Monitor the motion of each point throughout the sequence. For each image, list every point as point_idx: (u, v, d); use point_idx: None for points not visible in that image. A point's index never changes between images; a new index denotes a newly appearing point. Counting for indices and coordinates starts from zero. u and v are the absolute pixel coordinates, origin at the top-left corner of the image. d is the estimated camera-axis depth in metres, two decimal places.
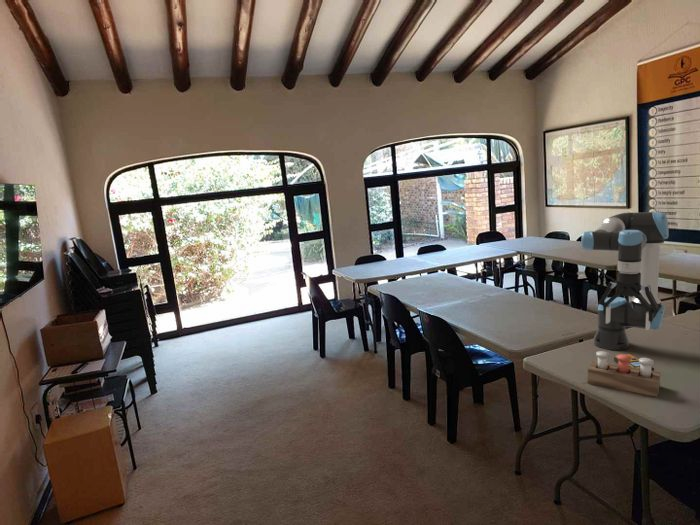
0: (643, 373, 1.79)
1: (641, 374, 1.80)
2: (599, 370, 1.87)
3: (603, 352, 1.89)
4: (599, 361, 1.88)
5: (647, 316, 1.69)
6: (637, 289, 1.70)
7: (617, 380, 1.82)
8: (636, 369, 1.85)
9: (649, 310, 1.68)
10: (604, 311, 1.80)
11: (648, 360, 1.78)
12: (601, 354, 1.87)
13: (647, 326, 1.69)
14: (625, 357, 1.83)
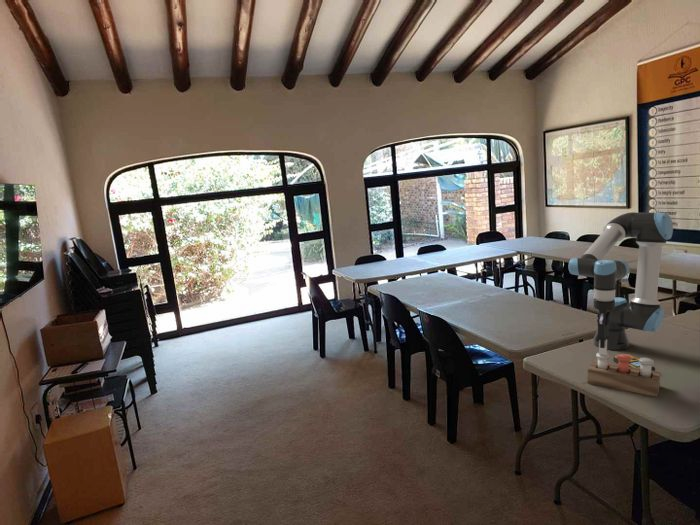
0: (643, 373, 1.79)
1: (641, 374, 1.80)
2: (599, 370, 1.87)
3: None
4: (599, 362, 1.88)
5: (599, 341, 1.88)
6: (599, 315, 1.83)
7: (617, 380, 1.82)
8: (636, 369, 1.85)
9: None
10: None
11: (648, 360, 1.78)
12: (601, 355, 1.87)
13: None
14: (625, 357, 1.83)
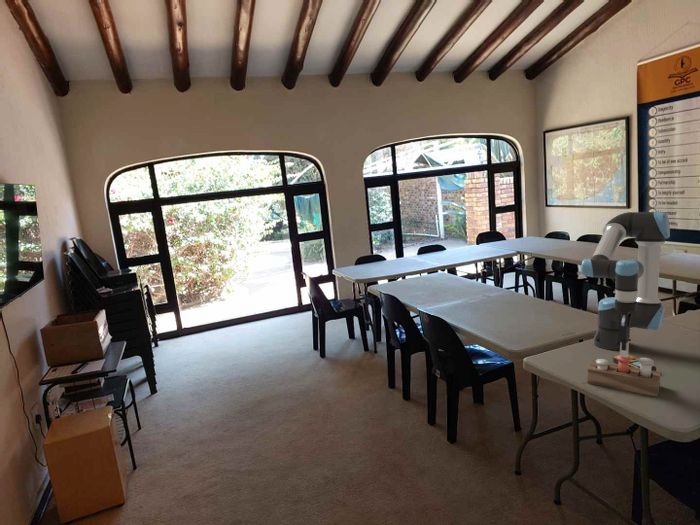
0: (643, 373, 1.79)
1: (641, 374, 1.80)
2: (599, 370, 1.87)
3: (603, 360, 1.90)
4: None
5: (620, 344, 1.83)
6: (621, 317, 1.79)
7: (617, 380, 1.82)
8: (636, 369, 1.85)
9: None
10: None
11: (648, 360, 1.78)
12: (601, 362, 1.88)
13: None
14: (625, 358, 1.83)
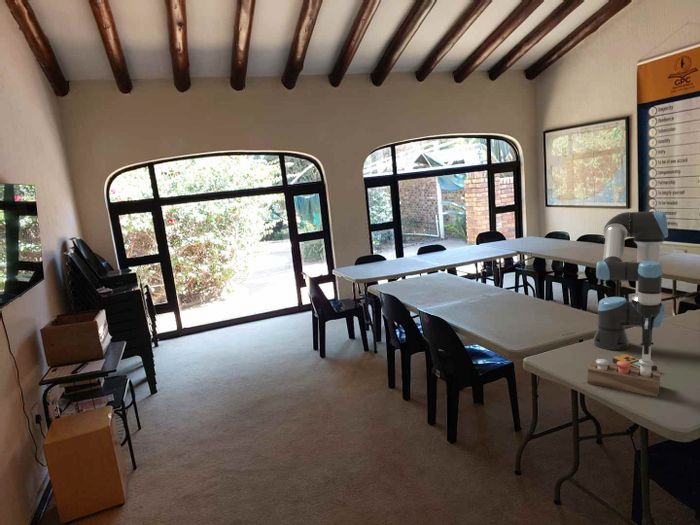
0: (643, 375, 1.79)
1: (641, 375, 1.80)
2: (599, 370, 1.87)
3: (603, 360, 1.90)
4: None
5: (642, 347, 1.78)
6: (643, 320, 1.74)
7: (617, 380, 1.82)
8: (636, 369, 1.85)
9: None
10: None
11: None
12: (601, 362, 1.88)
13: None
14: (625, 364, 1.83)
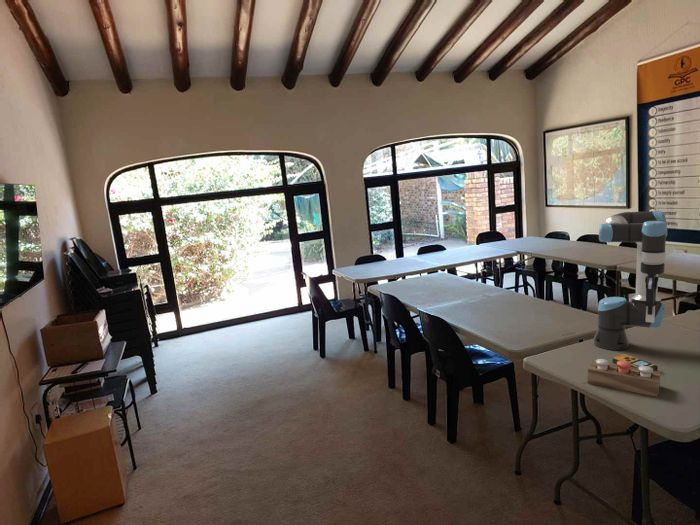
0: None
1: None
2: (599, 370, 1.87)
3: (603, 360, 1.90)
4: None
5: (646, 308, 1.77)
6: None
7: (617, 380, 1.82)
8: (636, 369, 1.85)
9: None
10: None
11: (648, 369, 1.79)
12: (601, 362, 1.88)
13: (645, 318, 1.78)
14: (625, 364, 1.83)
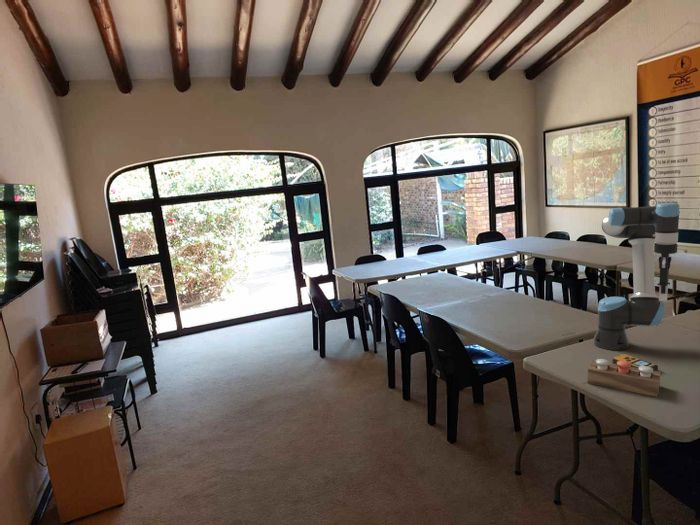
0: None
1: None
2: (599, 370, 1.87)
3: (603, 360, 1.90)
4: None
5: (659, 287, 1.84)
6: (661, 259, 1.79)
7: (617, 380, 1.82)
8: (636, 369, 1.85)
9: None
10: None
11: (648, 369, 1.79)
12: (601, 362, 1.88)
13: (658, 297, 1.84)
14: (625, 364, 1.83)
